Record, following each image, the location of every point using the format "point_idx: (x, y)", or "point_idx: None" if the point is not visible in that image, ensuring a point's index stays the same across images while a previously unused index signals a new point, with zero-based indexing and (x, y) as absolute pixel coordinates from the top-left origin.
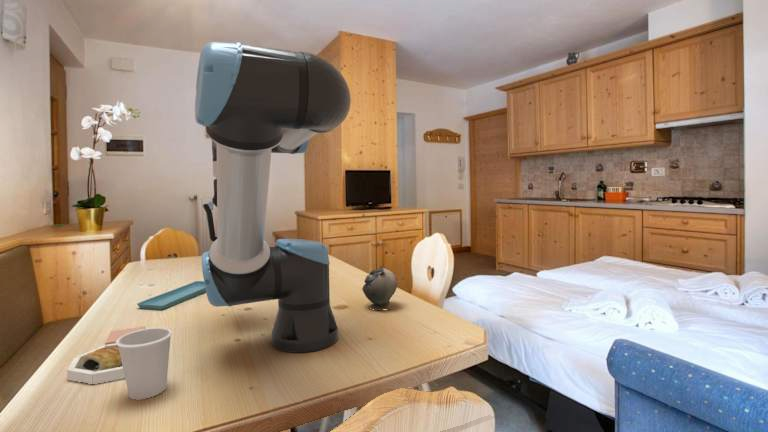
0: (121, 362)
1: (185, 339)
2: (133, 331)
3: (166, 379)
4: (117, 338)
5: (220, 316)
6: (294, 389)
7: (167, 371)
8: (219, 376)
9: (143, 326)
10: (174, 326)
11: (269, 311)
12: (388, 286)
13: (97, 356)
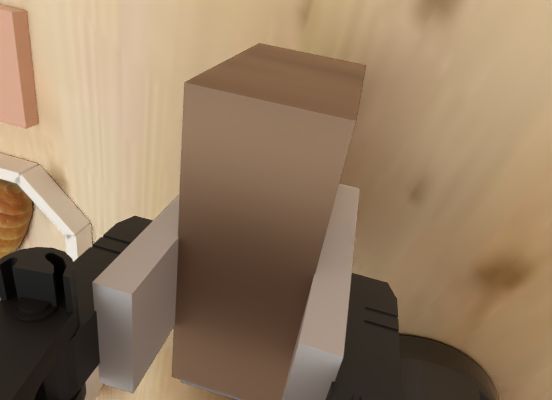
0: (19, 243)
1: (145, 186)
2: None
3: (102, 385)
4: None
5: (288, 26)
6: None
7: (96, 396)
8: (188, 394)
9: (8, 11)
10: (115, 29)
11: (490, 116)
12: None
13: None
